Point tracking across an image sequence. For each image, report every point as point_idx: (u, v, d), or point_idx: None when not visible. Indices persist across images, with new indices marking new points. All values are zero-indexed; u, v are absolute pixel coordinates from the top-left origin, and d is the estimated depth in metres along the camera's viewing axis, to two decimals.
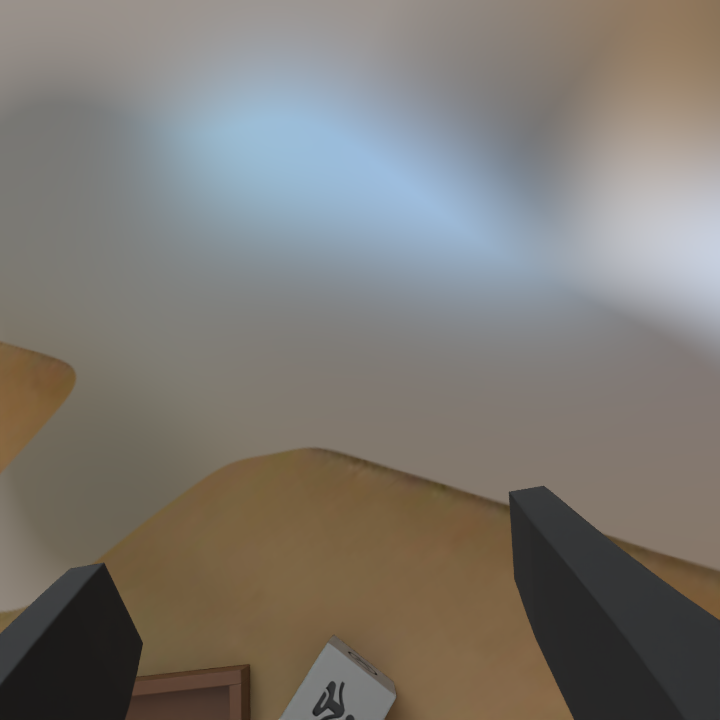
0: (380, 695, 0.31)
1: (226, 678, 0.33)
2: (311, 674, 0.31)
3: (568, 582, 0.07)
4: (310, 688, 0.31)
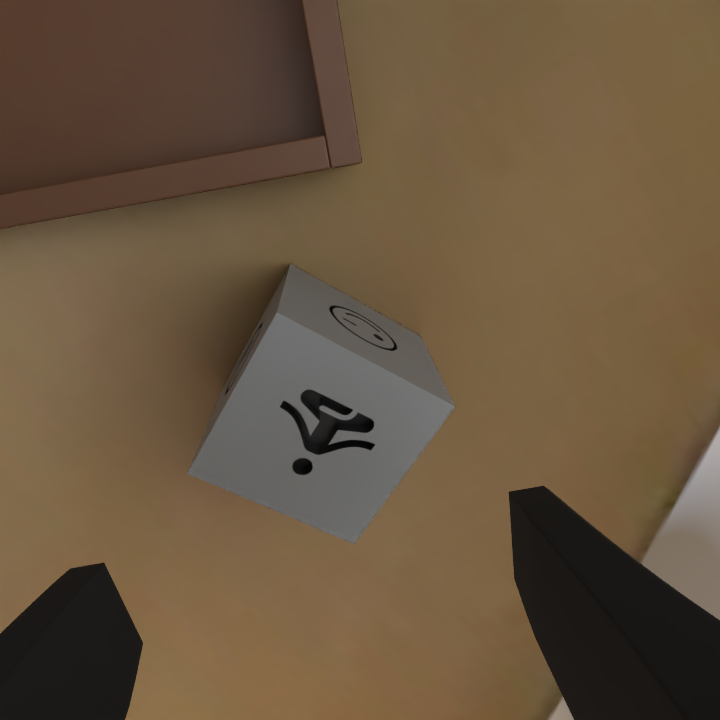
0: (354, 516, 0.14)
1: (339, 125, 0.13)
2: (385, 377, 0.13)
3: (568, 582, 0.07)
4: (356, 379, 0.13)
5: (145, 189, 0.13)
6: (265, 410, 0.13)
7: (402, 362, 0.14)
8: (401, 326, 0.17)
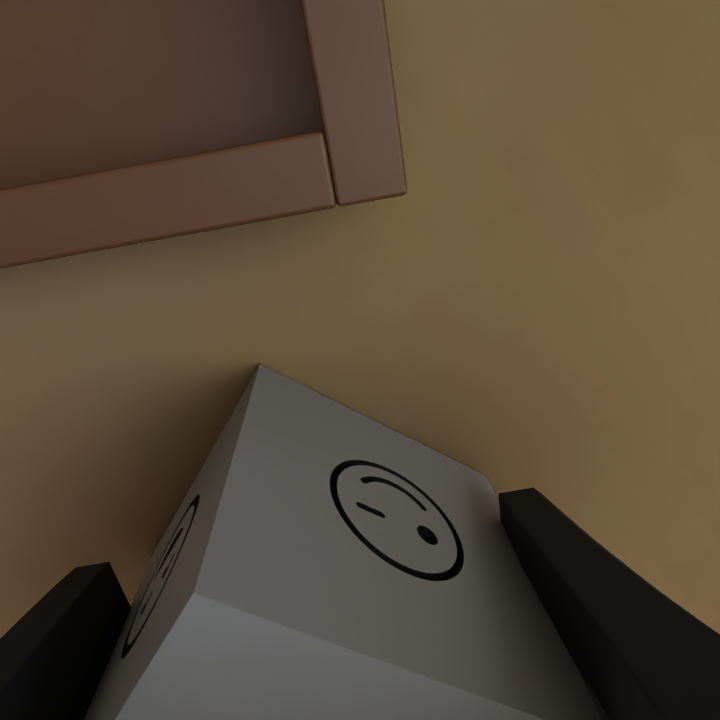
0: None
1: (358, 107, 0.05)
2: (461, 704, 0.05)
3: (555, 584, 0.07)
4: (393, 711, 0.05)
5: None
6: None
7: (484, 613, 0.07)
8: (454, 463, 0.10)
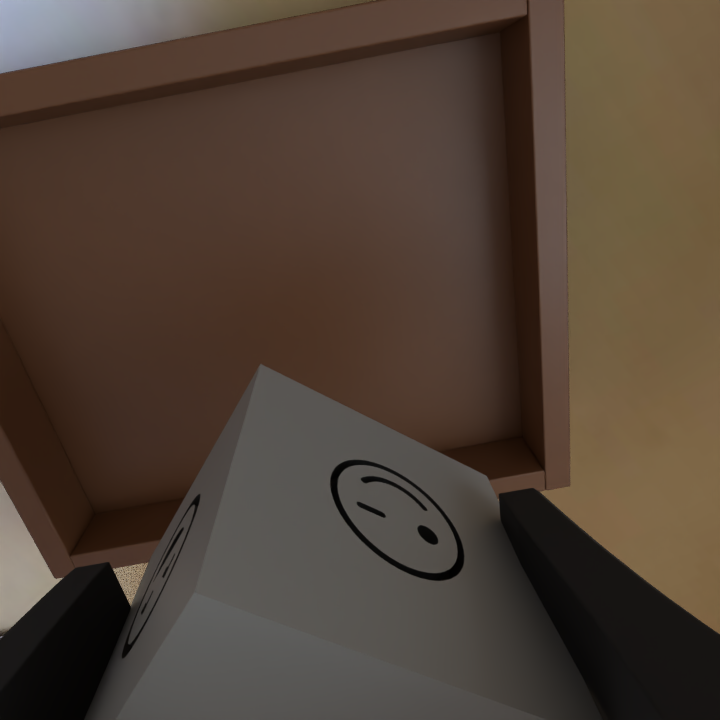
0: None
1: (557, 464, 0.16)
2: (461, 704, 0.05)
3: (555, 584, 0.07)
4: (393, 710, 0.05)
5: None
6: None
7: (484, 612, 0.07)
8: (454, 463, 0.10)
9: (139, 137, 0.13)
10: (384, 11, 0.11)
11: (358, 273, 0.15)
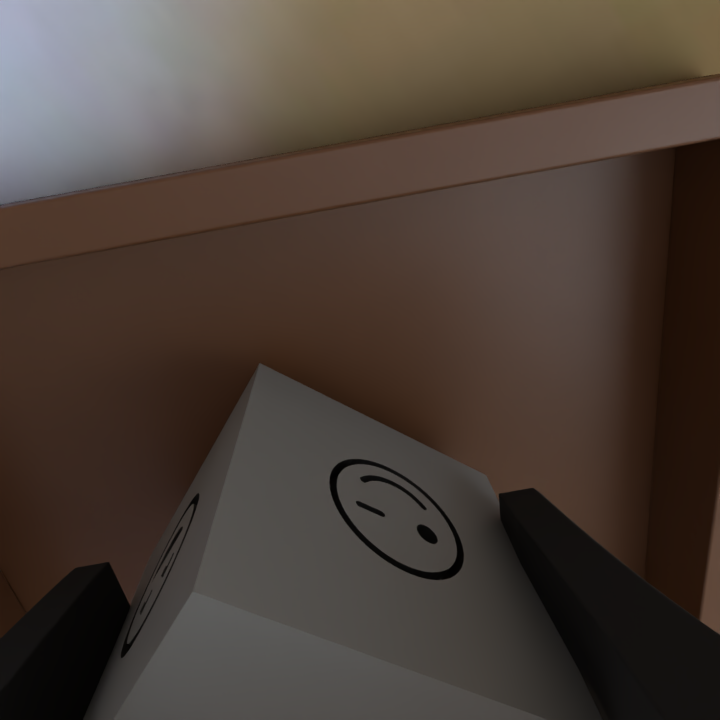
0: None
1: None
2: (461, 703, 0.05)
3: (555, 584, 0.07)
4: (393, 710, 0.05)
5: None
6: None
7: (484, 611, 0.07)
8: (453, 462, 0.10)
9: (153, 273, 0.09)
10: (545, 125, 0.07)
11: (448, 439, 0.11)
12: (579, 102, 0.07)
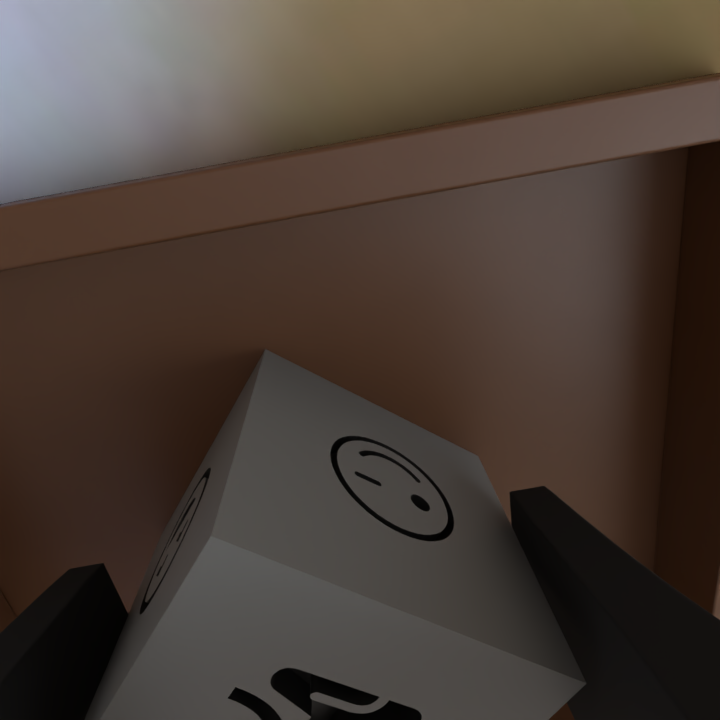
0: None
1: None
2: (448, 642, 0.06)
3: (569, 582, 0.07)
4: (387, 648, 0.06)
5: None
6: (198, 704, 0.06)
7: (471, 570, 0.07)
8: (447, 443, 0.11)
9: (148, 276, 0.09)
10: (556, 123, 0.07)
11: None
12: (591, 99, 0.07)
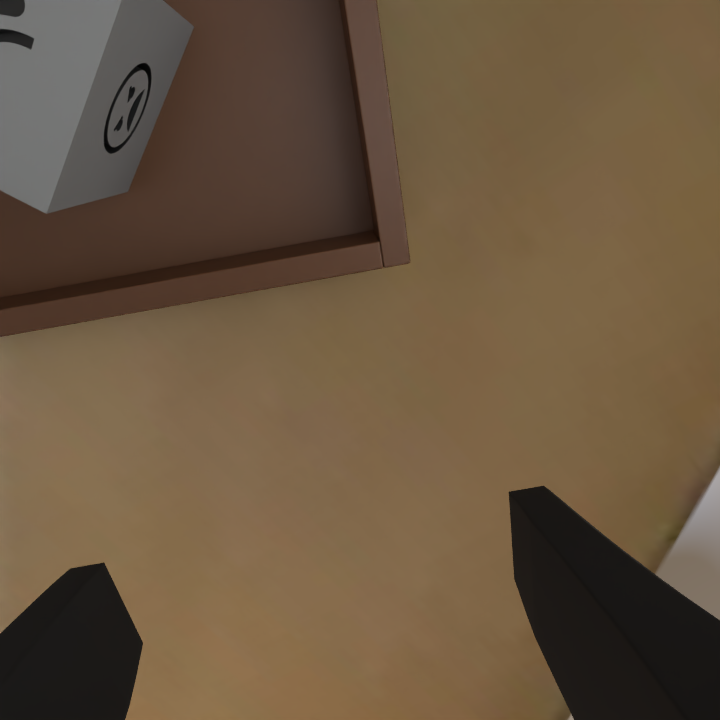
0: (35, 167, 0.11)
1: (392, 233, 0.15)
2: None
3: (568, 582, 0.07)
4: None
5: (225, 286, 0.15)
6: None
7: None
8: None
9: None
10: None
11: None
12: None
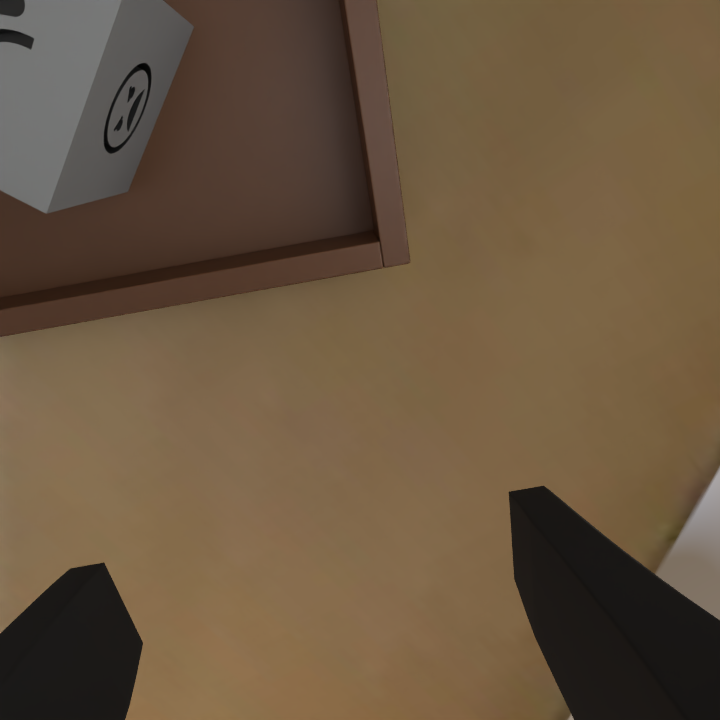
0: (35, 167, 0.11)
1: (392, 233, 0.15)
2: None
3: (568, 582, 0.07)
4: None
5: (225, 286, 0.15)
6: None
7: None
8: None
9: None
10: None
11: None
12: None
